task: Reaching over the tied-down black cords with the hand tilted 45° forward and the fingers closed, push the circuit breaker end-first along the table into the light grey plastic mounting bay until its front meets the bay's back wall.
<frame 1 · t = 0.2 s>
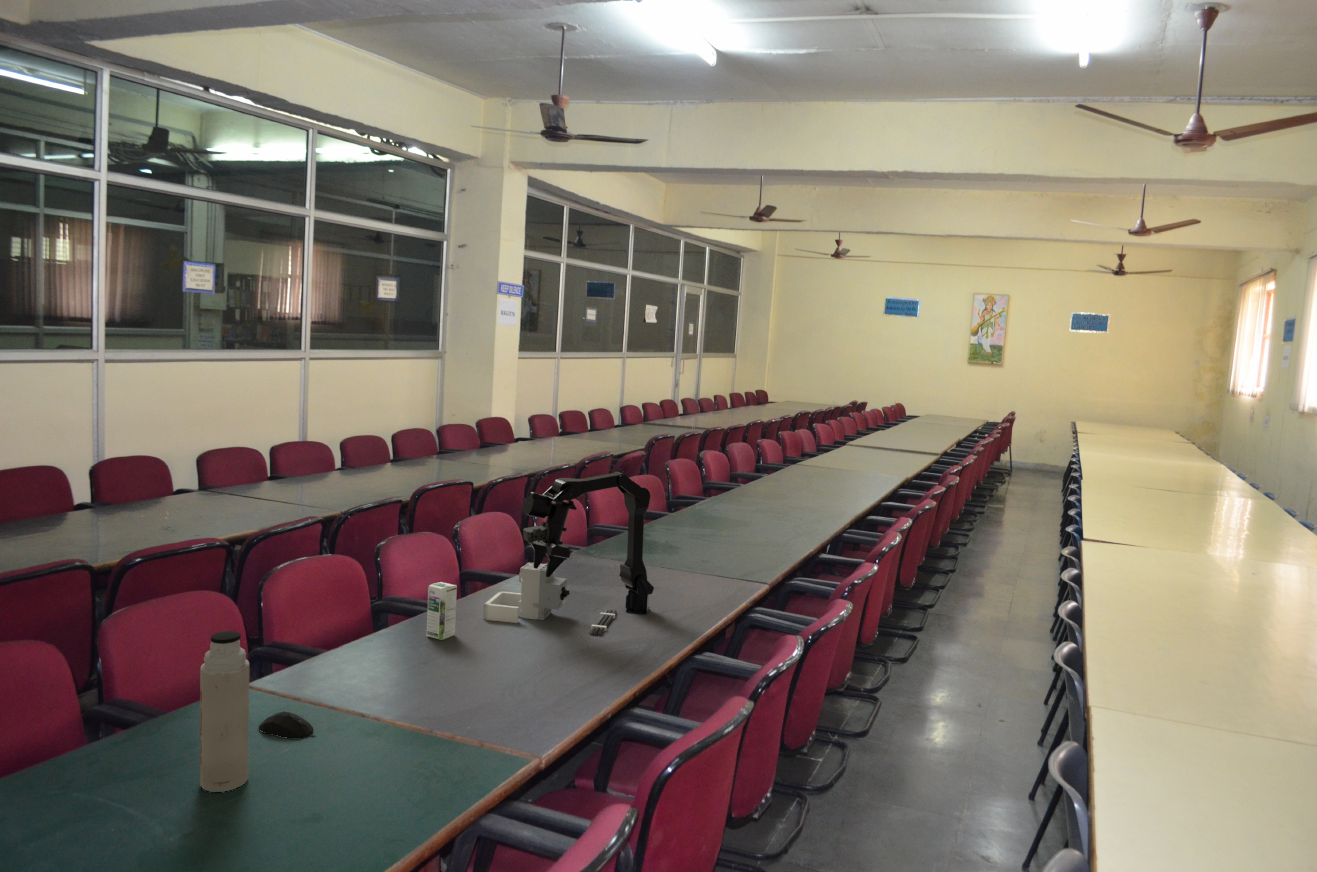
hand: (541, 572, 261), 15 cm above the table, tool pointing down, fingers open, 9 cm apart
mounting bay: (509, 614, 270), on the table
thermos bottle: (224, 782, 164), on the table
gaming mouse: (292, 734, 186), on the table
circuit breaker: (544, 616, 270), on the table
syrup box: (440, 636, 248), on the table
dressed cords: (603, 623, 266), on the table
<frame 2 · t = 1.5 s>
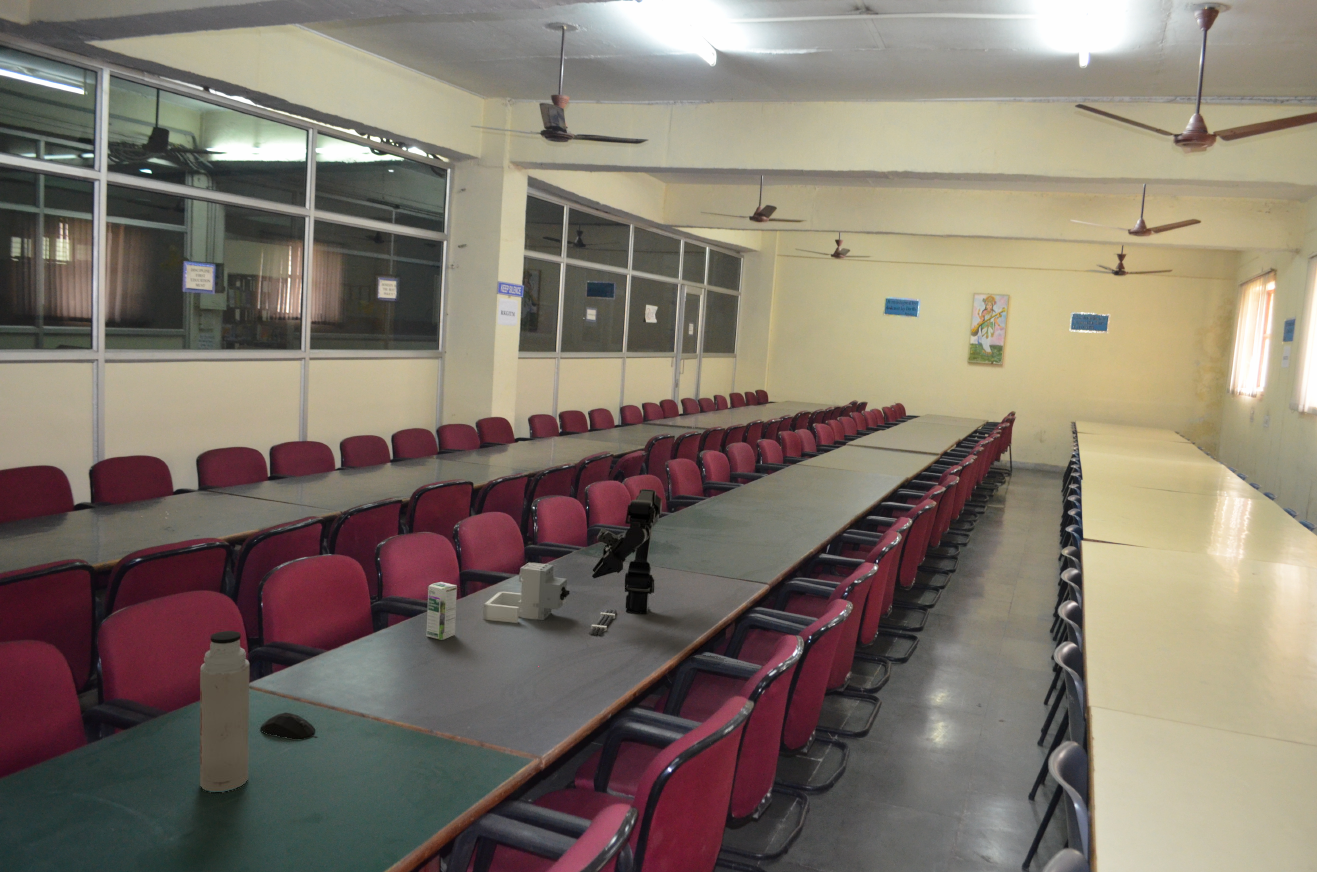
hand: (593, 574, 269), 14 cm above the table, tool tilted 45°, fingers open, 6 cm apart
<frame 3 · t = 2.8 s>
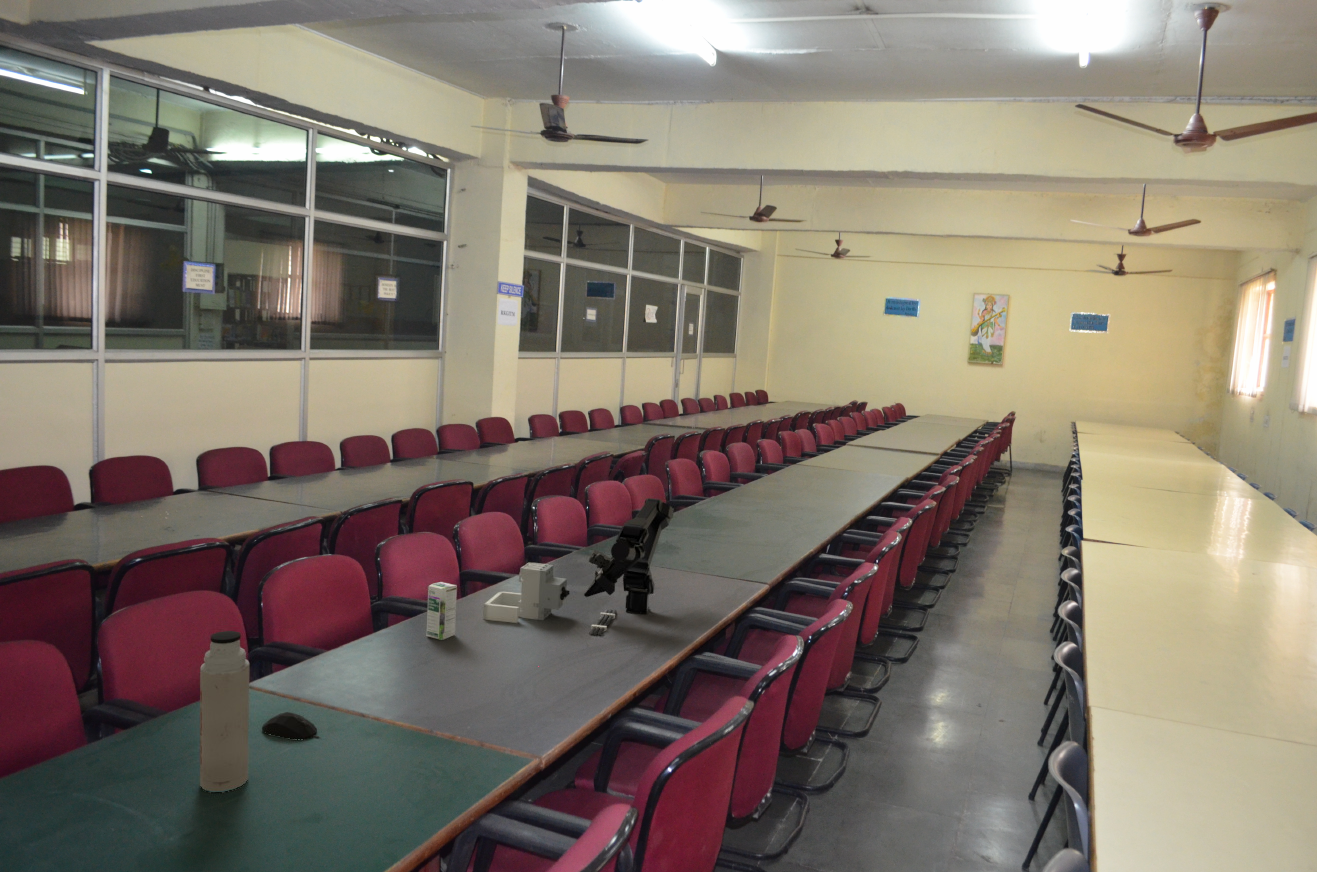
hand: (584, 595, 270), 7 cm above the table, tool tilted 45°, fingers closed
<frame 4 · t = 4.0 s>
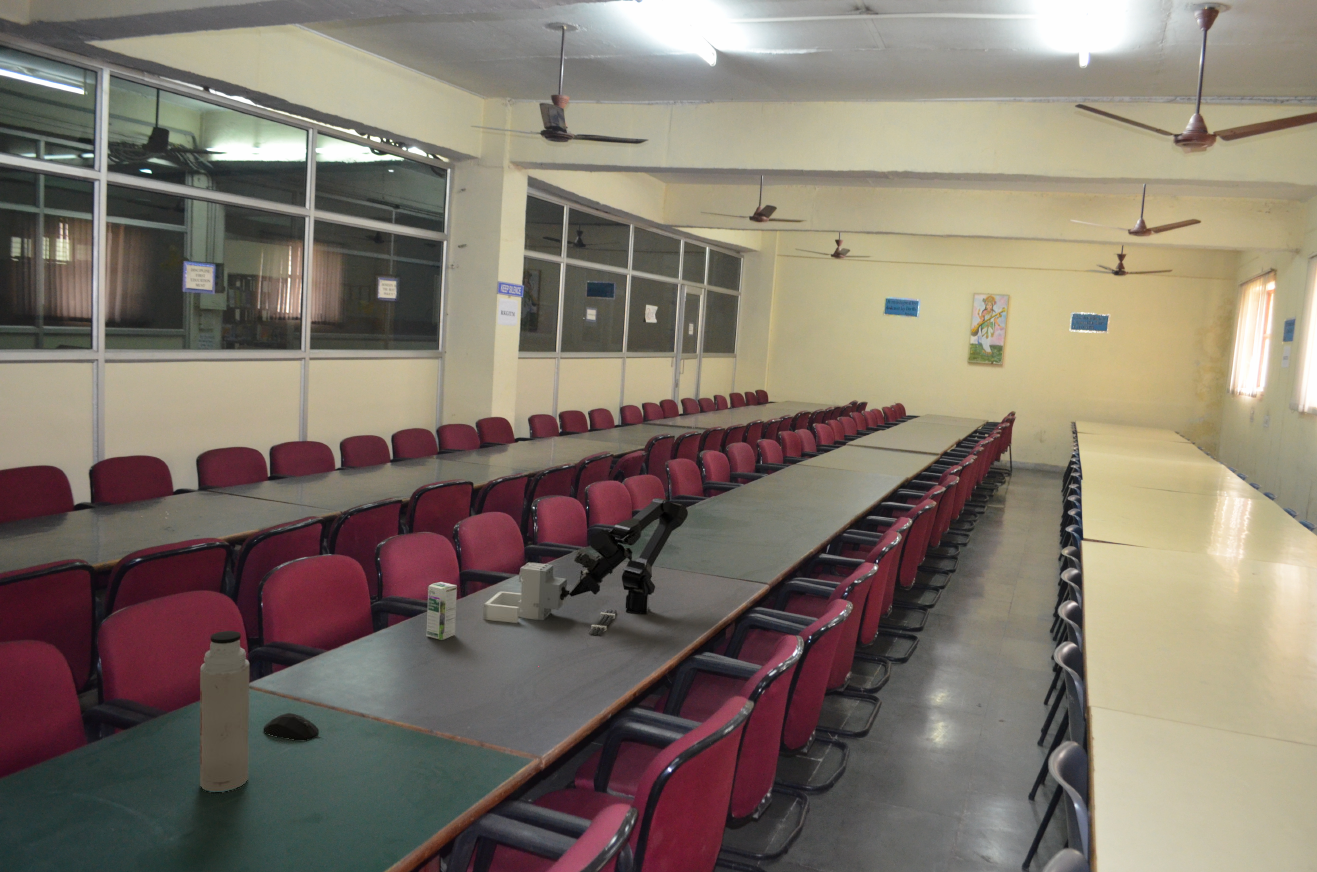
hand: (570, 595, 269), 7 cm above the table, tool tilted 45°, fingers closed
circuit breaker: (544, 616, 270), on the table, touching gripper
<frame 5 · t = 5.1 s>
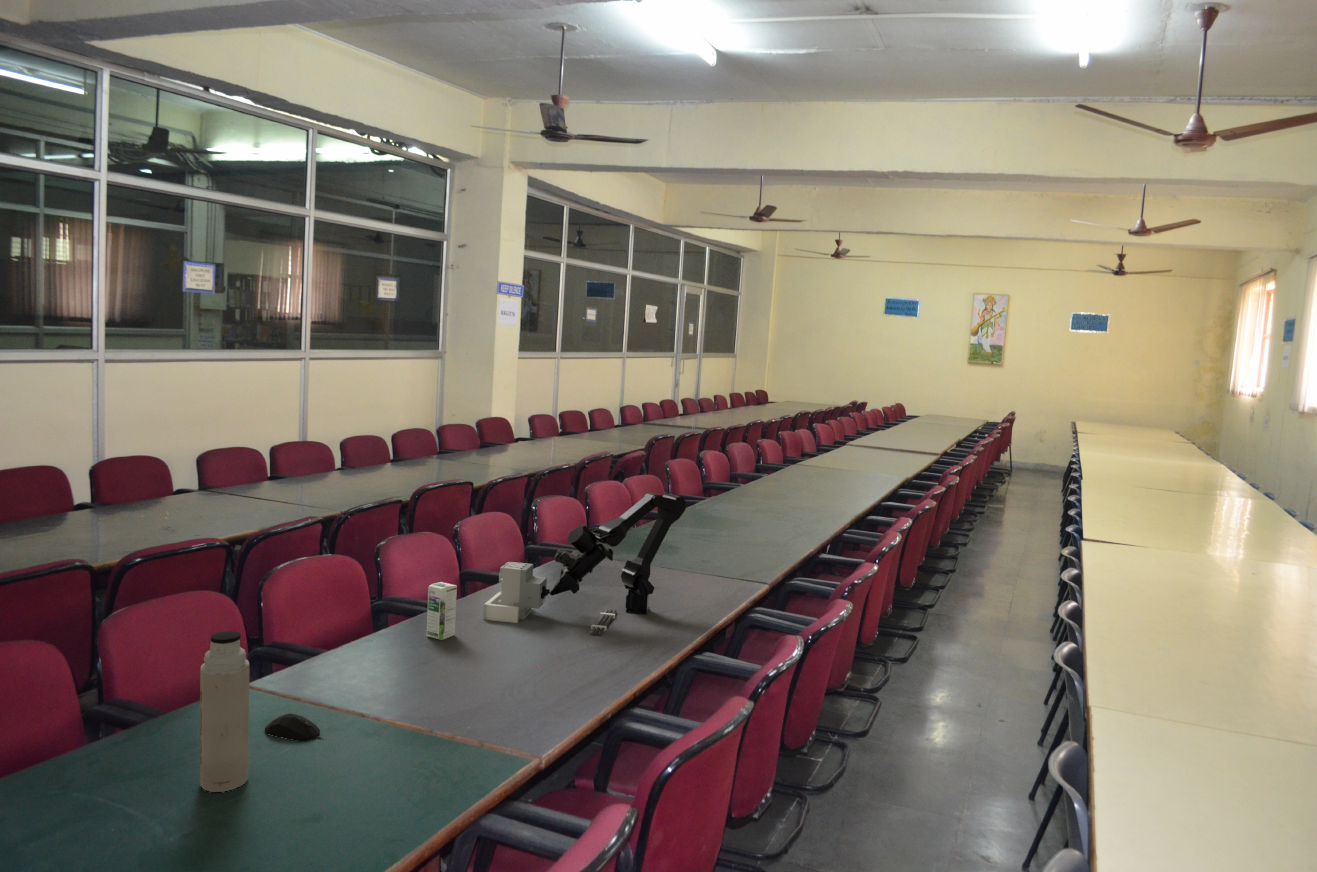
hand: (550, 594, 269), 7 cm above the table, tool tilted 45°, fingers closed, pressing on circuit breaker
circuit breaker: (524, 615, 269), on the table, touching gripper
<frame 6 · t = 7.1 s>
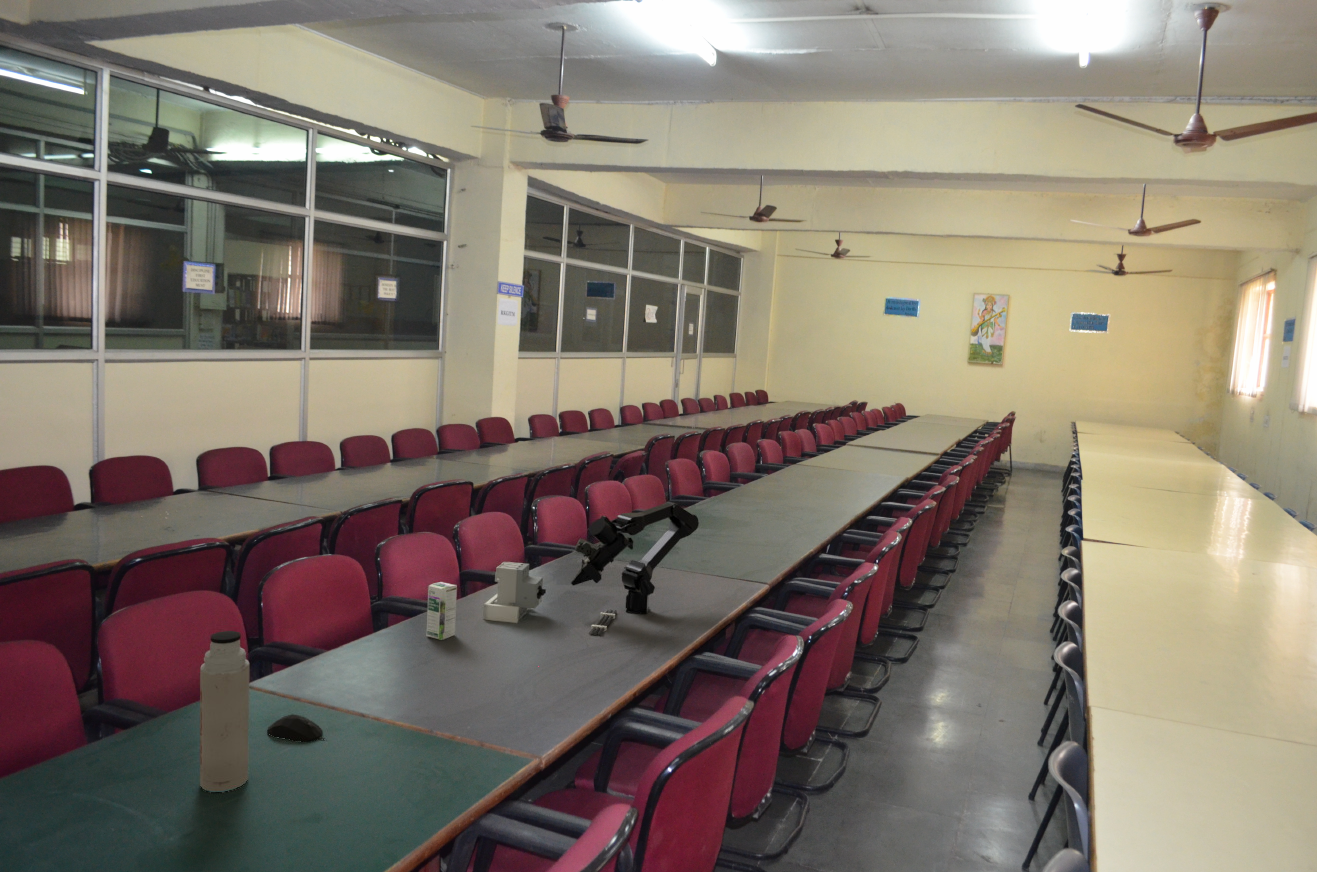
hand: (572, 584, 272), 9 cm above the table, tool tilted 45°, fingers closed
circuit breaker: (520, 615, 269), on the table
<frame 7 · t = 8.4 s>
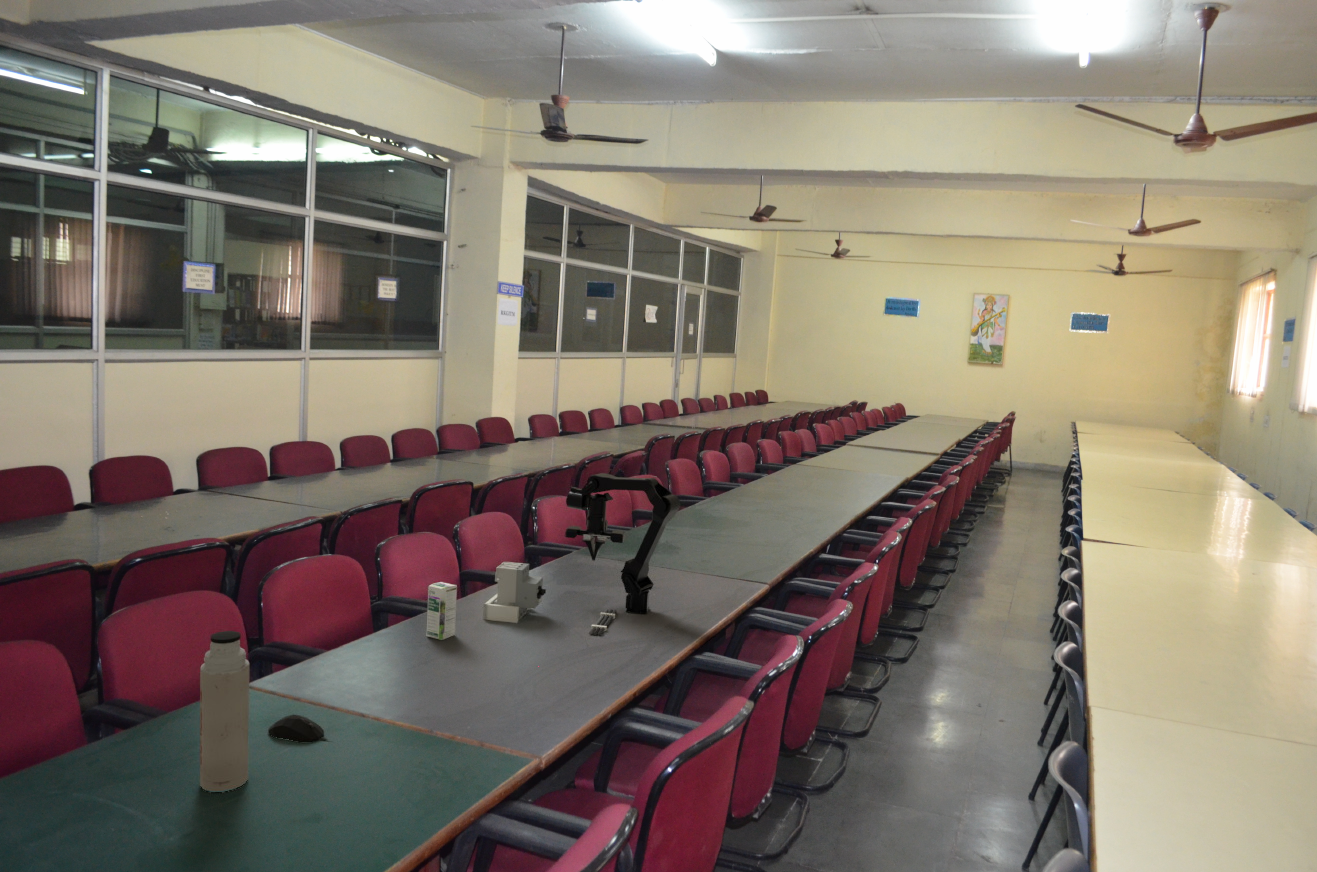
hand: (593, 560, 287), 13 cm above the table, tool pointing down, fingers closed
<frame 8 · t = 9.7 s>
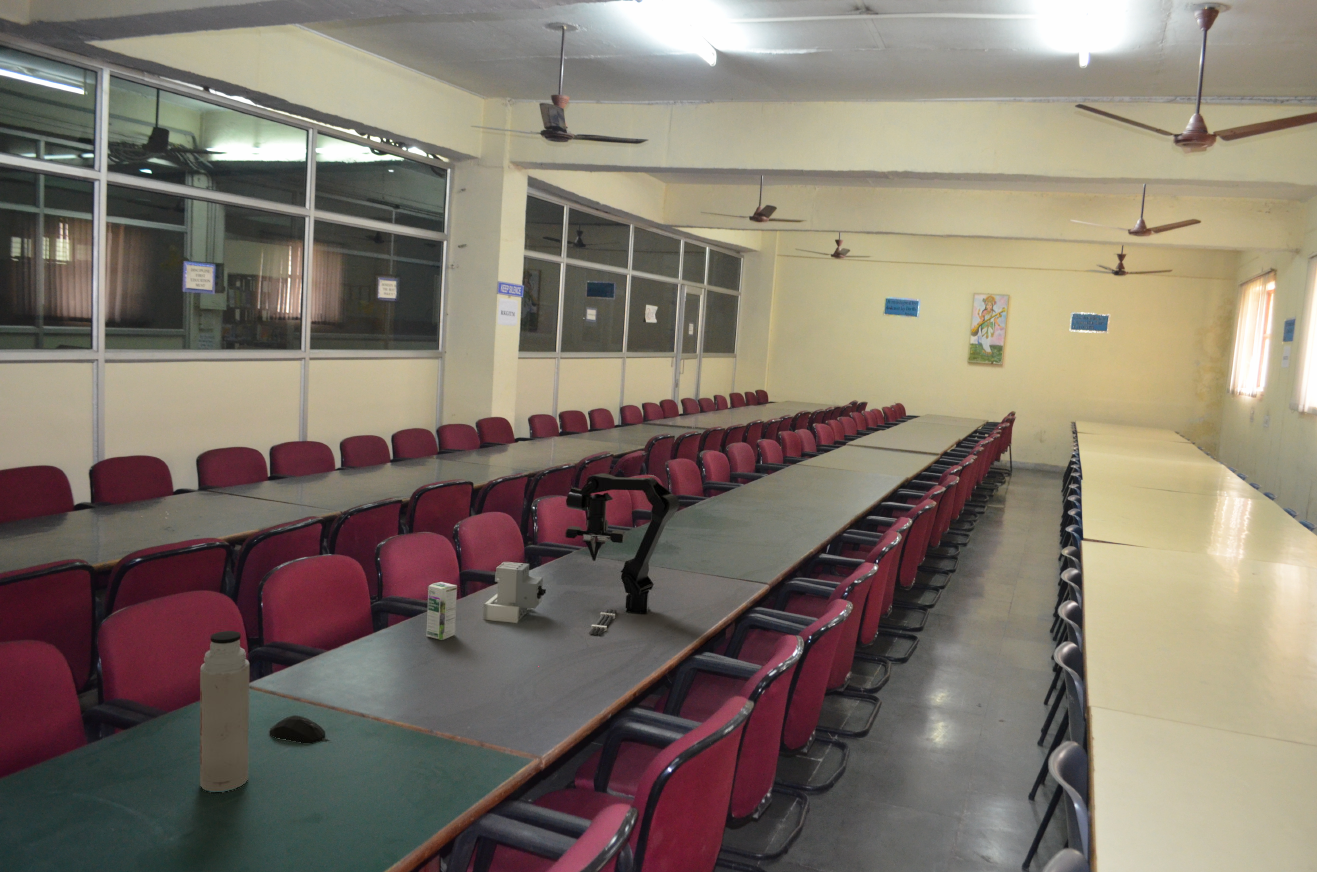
hand: (594, 560, 288), 13 cm above the table, tool pointing down, fingers closed
at the end: circuit breaker inside the target area (1.3 cm from its centre), on the table; circuit breaker tilted 0°; the gripper is holding nothing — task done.
